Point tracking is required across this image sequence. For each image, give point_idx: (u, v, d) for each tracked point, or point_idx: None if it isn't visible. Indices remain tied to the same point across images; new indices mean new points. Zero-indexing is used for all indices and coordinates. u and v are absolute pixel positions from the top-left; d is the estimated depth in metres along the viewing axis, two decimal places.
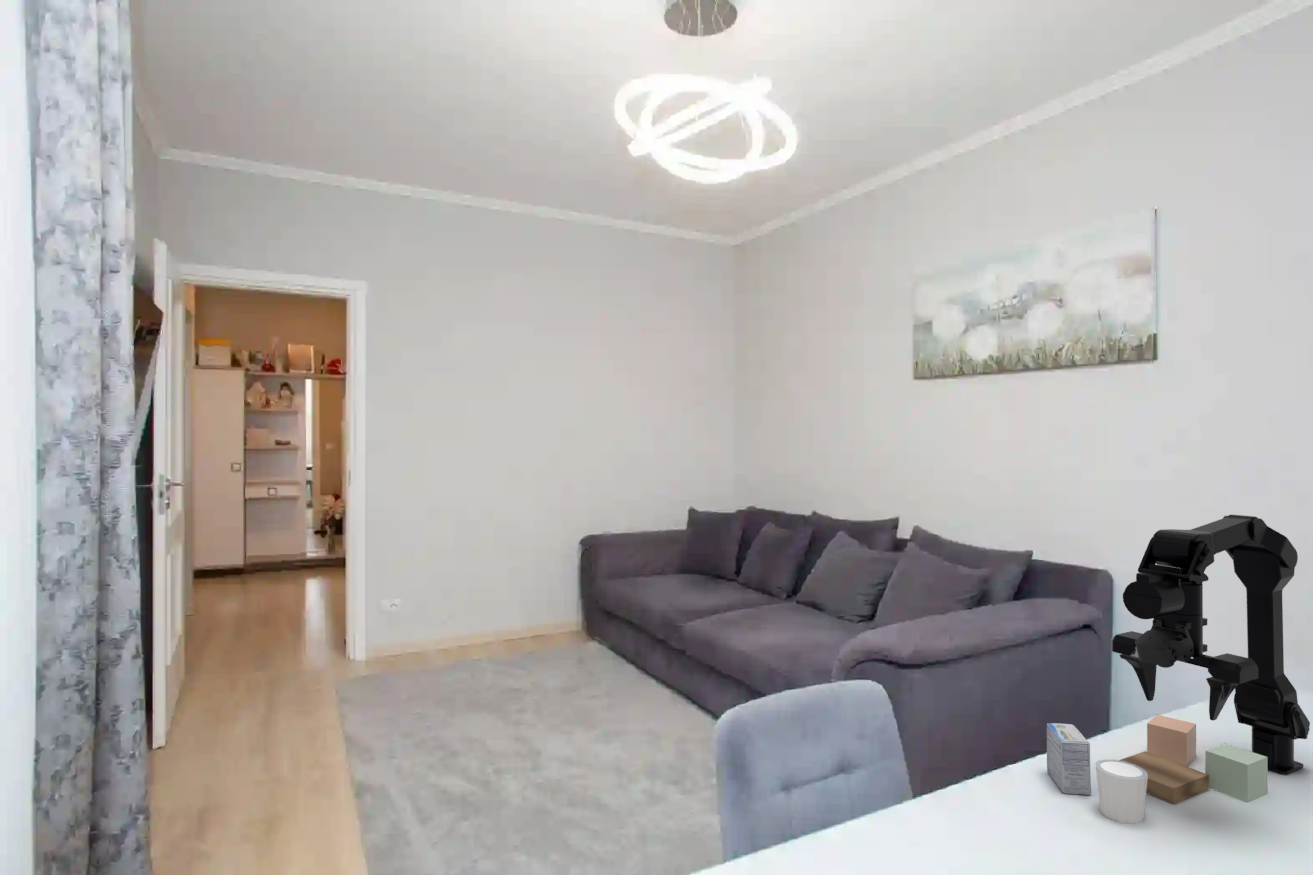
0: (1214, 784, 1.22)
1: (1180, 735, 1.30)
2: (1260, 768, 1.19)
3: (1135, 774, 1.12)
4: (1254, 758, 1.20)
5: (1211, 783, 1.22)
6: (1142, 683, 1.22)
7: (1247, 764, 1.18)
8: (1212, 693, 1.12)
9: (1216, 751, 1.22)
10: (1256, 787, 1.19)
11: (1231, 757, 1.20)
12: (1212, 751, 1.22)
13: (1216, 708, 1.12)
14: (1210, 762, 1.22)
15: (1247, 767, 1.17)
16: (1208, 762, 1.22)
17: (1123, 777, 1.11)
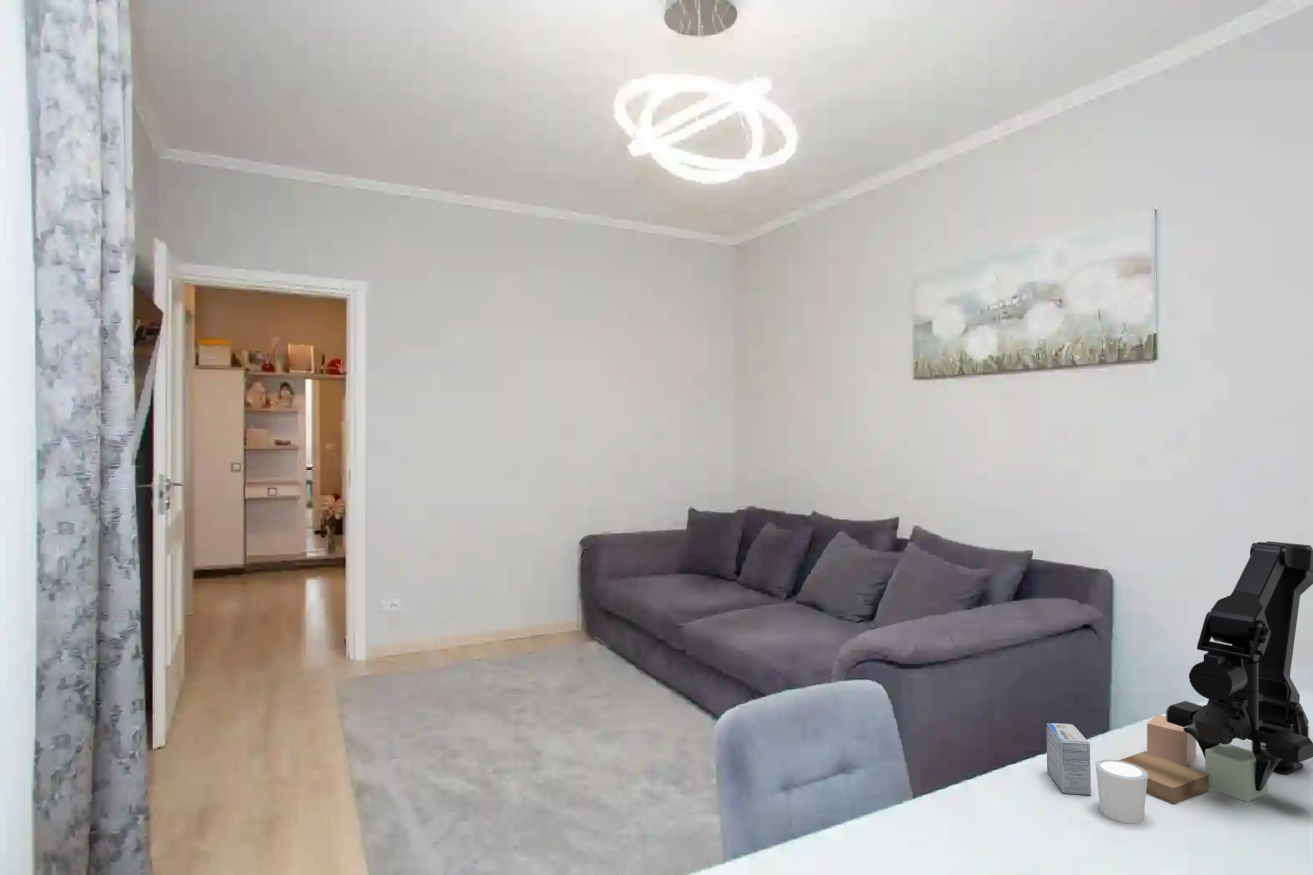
0: (1214, 783, 1.22)
1: (1180, 735, 1.30)
2: None
3: (1135, 774, 1.12)
4: (1254, 757, 1.20)
5: (1211, 782, 1.22)
6: None
7: (1247, 763, 1.18)
8: (1258, 765, 1.18)
9: (1216, 750, 1.22)
10: None
11: (1231, 756, 1.20)
12: (1212, 751, 1.22)
13: (1262, 780, 1.18)
14: (1210, 761, 1.22)
15: (1247, 766, 1.17)
16: (1208, 761, 1.22)
17: (1123, 777, 1.11)
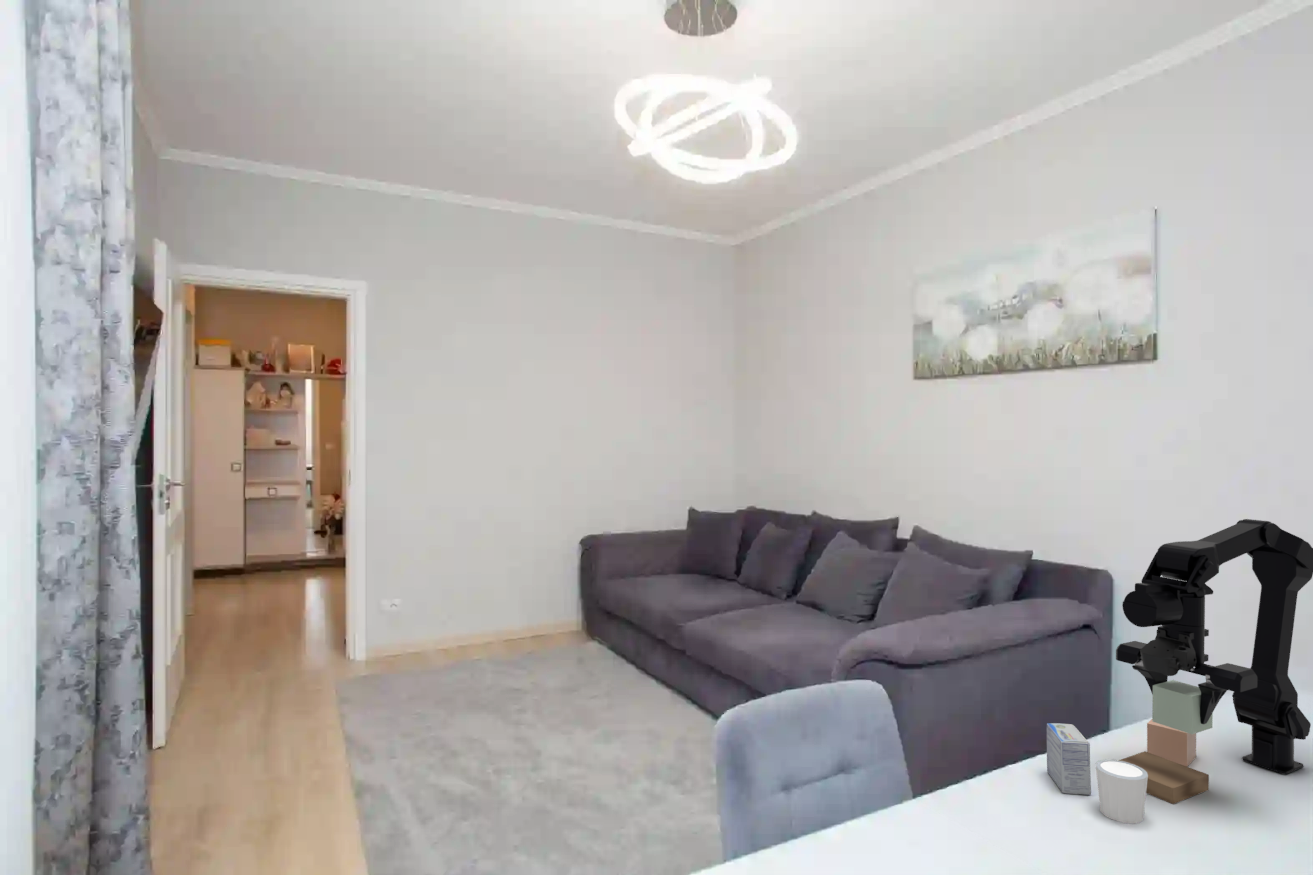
0: (1160, 718, 1.23)
1: (1180, 735, 1.30)
2: None
3: (1135, 774, 1.12)
4: (1199, 691, 1.21)
5: (1158, 717, 1.23)
6: None
7: (1192, 696, 1.19)
8: (1203, 698, 1.19)
9: (1163, 686, 1.23)
10: None
11: (1177, 690, 1.21)
12: (1159, 686, 1.23)
13: (1206, 712, 1.19)
14: (1157, 696, 1.23)
15: (1192, 699, 1.18)
16: (1155, 696, 1.23)
17: (1123, 777, 1.11)
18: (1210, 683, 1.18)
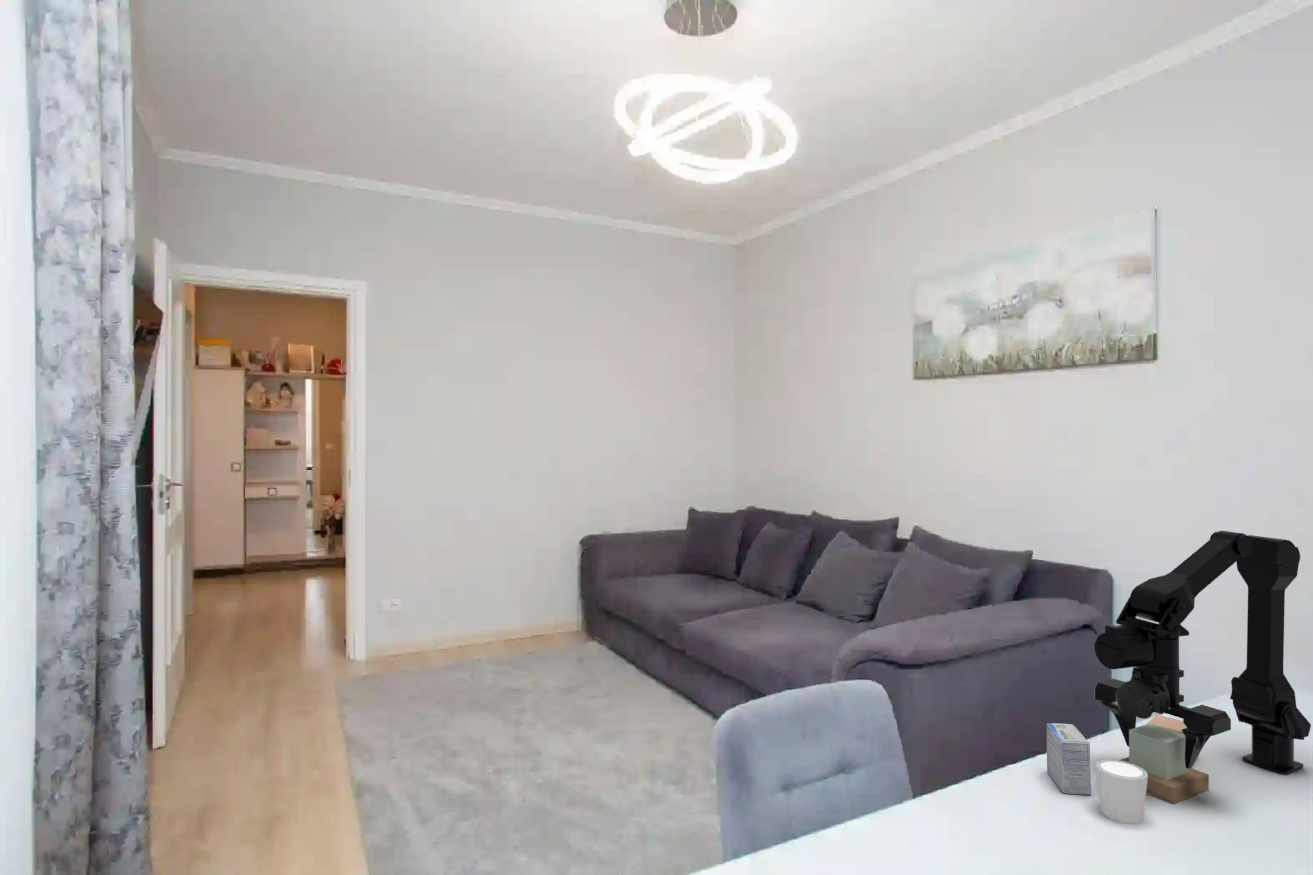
0: (1137, 763, 1.24)
1: None
2: (1181, 746, 1.21)
3: (1135, 774, 1.12)
4: (1175, 736, 1.22)
5: (1134, 762, 1.24)
6: (1122, 730, 1.28)
7: (1167, 742, 1.20)
8: (1188, 743, 1.18)
9: (1139, 730, 1.24)
10: (1177, 765, 1.21)
11: (1153, 735, 1.22)
12: (1135, 731, 1.24)
13: (1191, 757, 1.18)
14: (1134, 741, 1.24)
15: (1166, 745, 1.20)
16: (1132, 741, 1.24)
17: (1123, 777, 1.11)
18: None
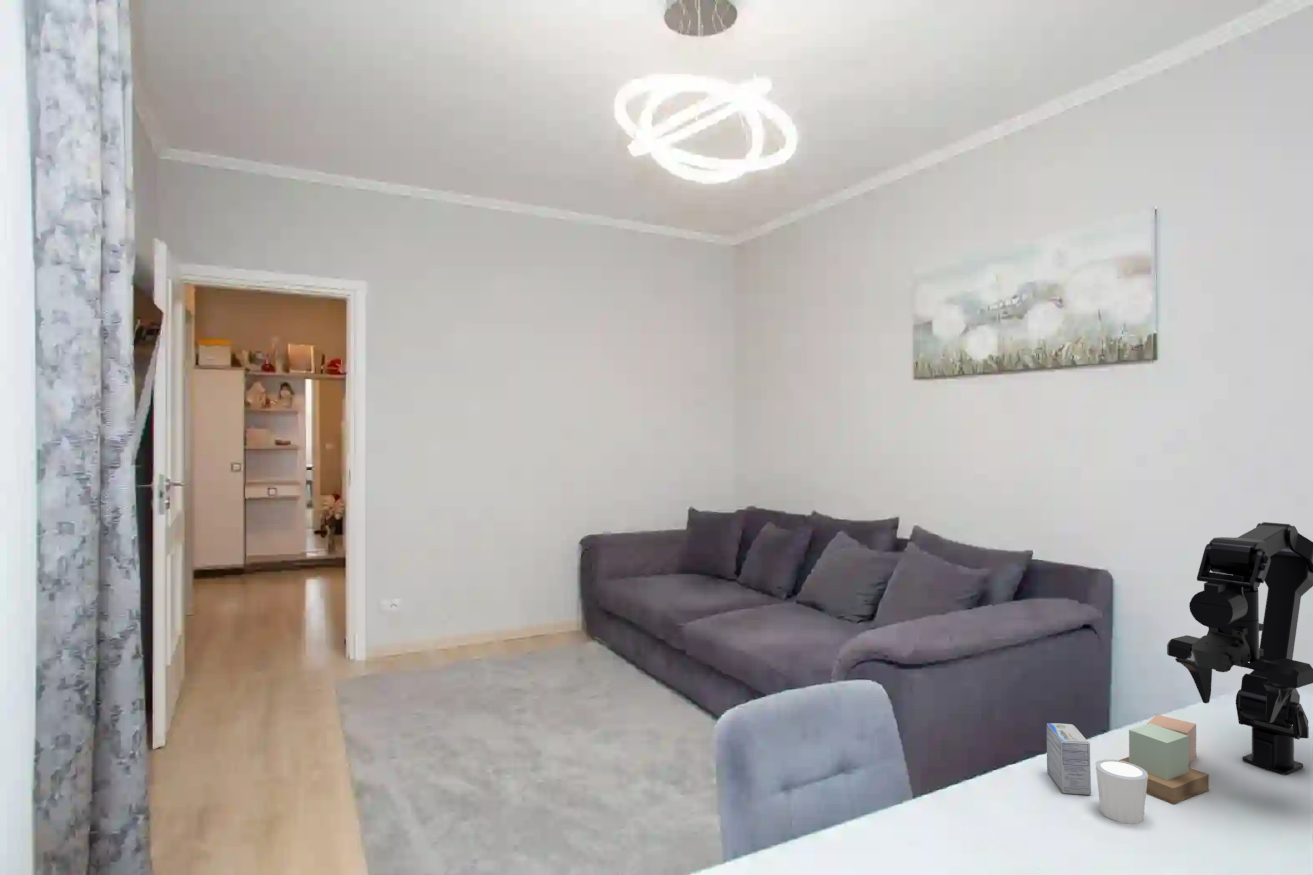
0: (1137, 763, 1.24)
1: None
2: (1181, 746, 1.21)
3: (1135, 774, 1.12)
4: (1175, 736, 1.22)
5: (1134, 762, 1.24)
6: (1198, 686, 1.25)
7: (1167, 742, 1.20)
8: (1269, 697, 1.16)
9: (1139, 730, 1.24)
10: (1177, 765, 1.21)
11: (1153, 735, 1.22)
12: (1135, 731, 1.24)
13: (1273, 711, 1.16)
14: (1134, 741, 1.24)
15: (1166, 745, 1.20)
16: (1132, 741, 1.24)
17: (1123, 777, 1.11)
18: None
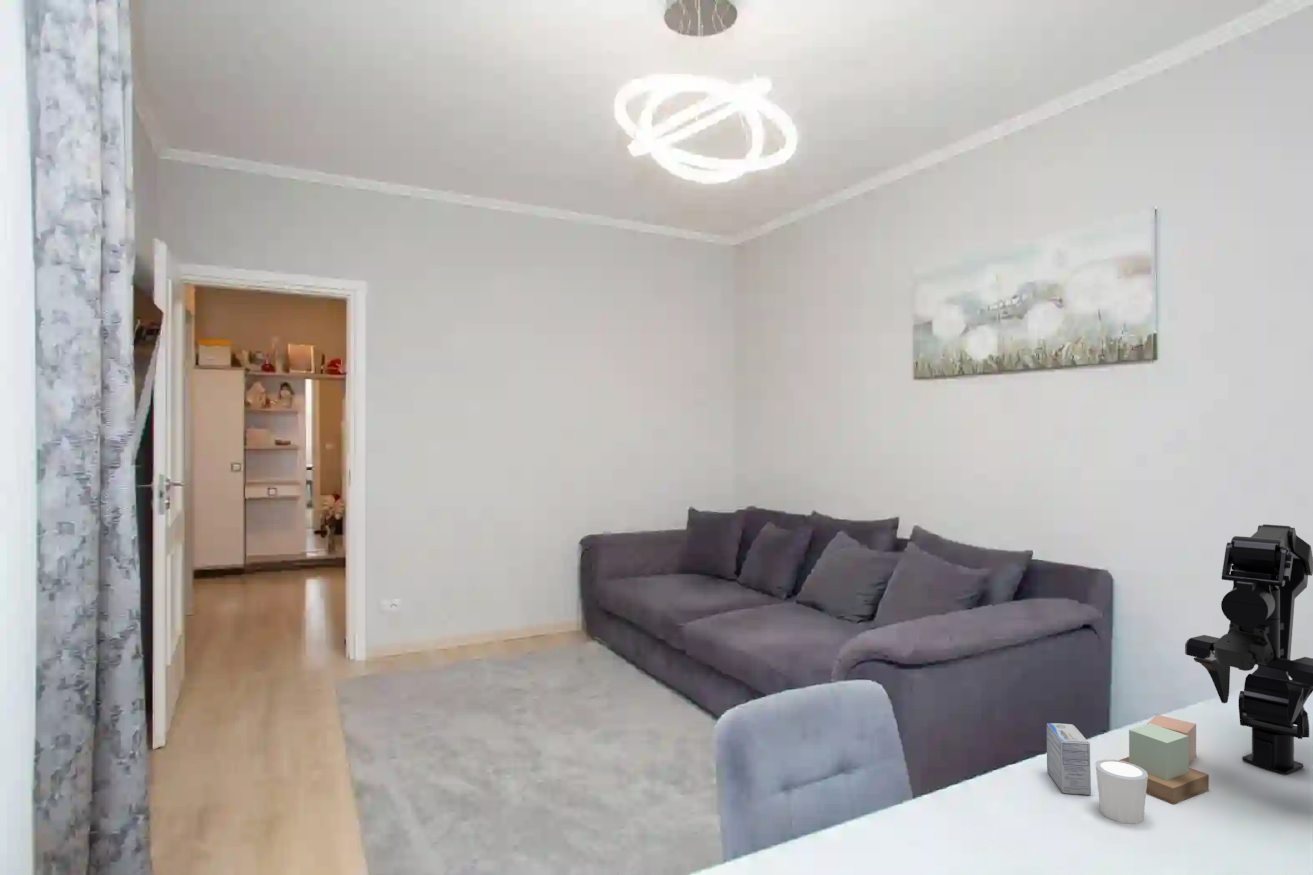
0: (1137, 763, 1.24)
1: None
2: (1181, 746, 1.21)
3: (1135, 774, 1.12)
4: (1175, 736, 1.22)
5: (1134, 762, 1.24)
6: (1217, 686, 1.25)
7: (1167, 742, 1.20)
8: (1291, 696, 1.15)
9: (1139, 730, 1.24)
10: (1177, 765, 1.21)
11: (1153, 735, 1.22)
12: (1135, 731, 1.24)
13: (1295, 710, 1.15)
14: (1134, 741, 1.24)
15: (1166, 745, 1.20)
16: (1132, 741, 1.24)
17: (1123, 777, 1.11)
18: None
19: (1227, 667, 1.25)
